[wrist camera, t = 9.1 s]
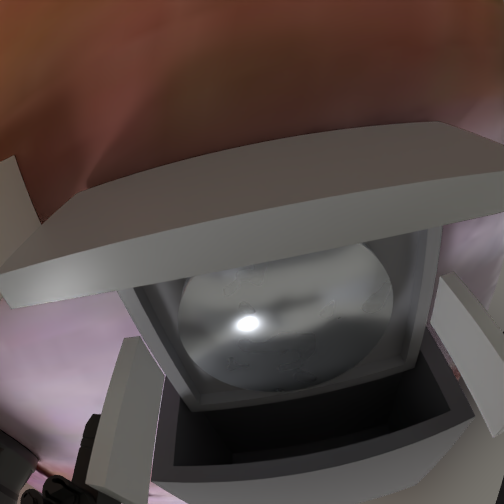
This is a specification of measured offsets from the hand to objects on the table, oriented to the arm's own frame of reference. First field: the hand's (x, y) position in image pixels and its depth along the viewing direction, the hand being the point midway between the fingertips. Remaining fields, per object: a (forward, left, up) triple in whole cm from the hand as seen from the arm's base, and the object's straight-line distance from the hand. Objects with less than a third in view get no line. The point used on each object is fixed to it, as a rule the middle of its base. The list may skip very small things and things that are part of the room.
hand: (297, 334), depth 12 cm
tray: (0, 0, -4) cm, 4 cm away
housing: (0, -13, -4) cm, 13 cm away
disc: (0, 0, -2) cm, 2 cm away
